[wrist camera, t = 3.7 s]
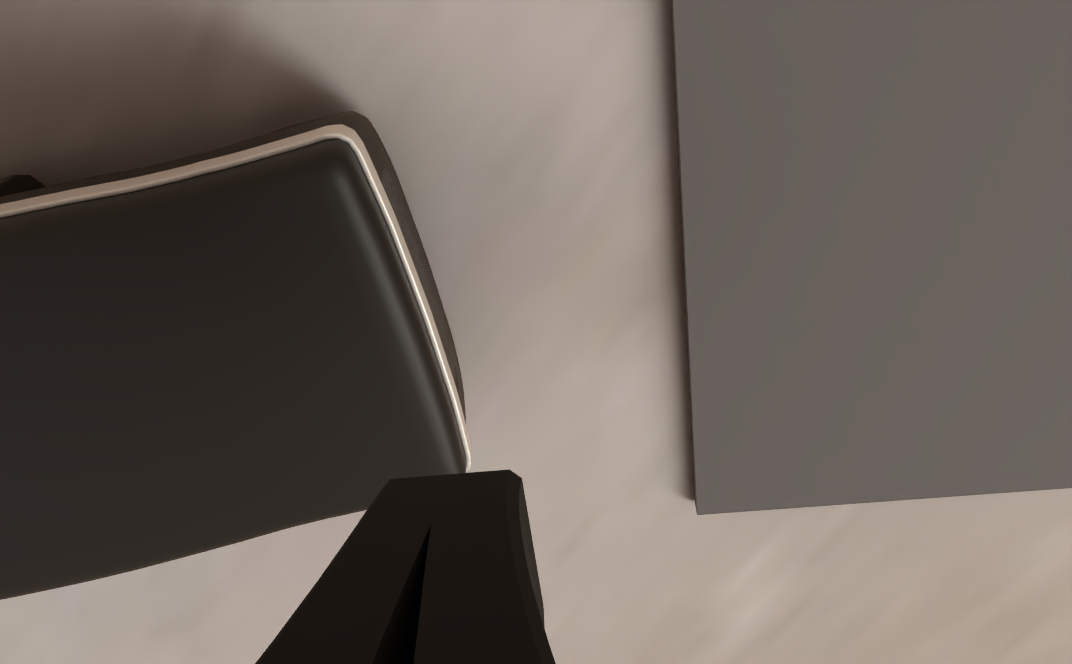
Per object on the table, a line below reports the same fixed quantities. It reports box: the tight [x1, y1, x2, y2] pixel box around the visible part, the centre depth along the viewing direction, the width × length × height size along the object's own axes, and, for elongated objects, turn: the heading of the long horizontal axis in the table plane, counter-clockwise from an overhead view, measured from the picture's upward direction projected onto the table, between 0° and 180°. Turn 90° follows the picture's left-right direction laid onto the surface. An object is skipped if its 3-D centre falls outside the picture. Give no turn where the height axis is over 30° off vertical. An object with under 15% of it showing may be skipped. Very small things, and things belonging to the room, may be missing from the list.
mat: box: [671, 0, 1072, 515], centre depth 16 cm, size 12×14×1 cm
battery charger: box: [0, 111, 471, 600], centre depth 17 cm, size 7×4×11 cm
